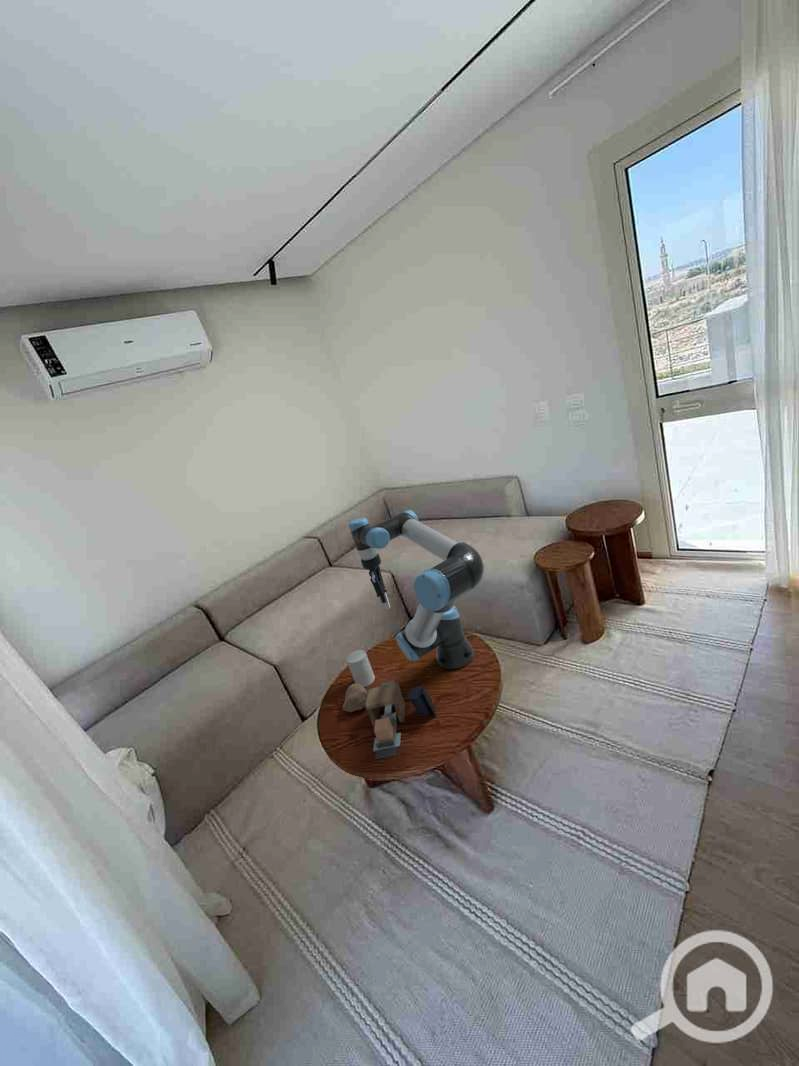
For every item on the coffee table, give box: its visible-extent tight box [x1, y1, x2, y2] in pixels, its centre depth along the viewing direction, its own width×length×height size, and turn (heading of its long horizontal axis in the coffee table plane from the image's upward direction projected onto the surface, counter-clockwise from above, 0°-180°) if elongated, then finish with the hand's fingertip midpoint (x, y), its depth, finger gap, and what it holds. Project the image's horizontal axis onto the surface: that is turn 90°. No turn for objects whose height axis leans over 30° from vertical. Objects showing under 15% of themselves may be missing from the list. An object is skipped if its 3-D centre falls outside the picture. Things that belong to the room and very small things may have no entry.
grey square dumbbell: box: [376, 680, 398, 748], centre depth 153 cm, size 6×26×5 cm, turn 177°
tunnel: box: [365, 682, 406, 729], centre depth 154 cm, size 11×9×9 cm
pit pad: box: [374, 747, 398, 760], centre depth 139 cm, size 7×3×1 cm, turn 87°
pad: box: [372, 732, 402, 752], centre depth 144 cm, size 9×6×1 cm, turn 87°
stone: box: [341, 682, 368, 713], centre depth 165 cm, size 12×9×10 cm
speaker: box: [408, 683, 437, 717], centre depth 150 cm, size 8×6×10 cm
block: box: [373, 717, 393, 742], centre depth 143 cm, size 5×5×5 cm
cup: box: [345, 649, 376, 688], centre depth 177 cm, size 8×8×12 cm
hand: (386, 608), depth 178 cm, fingers closed
